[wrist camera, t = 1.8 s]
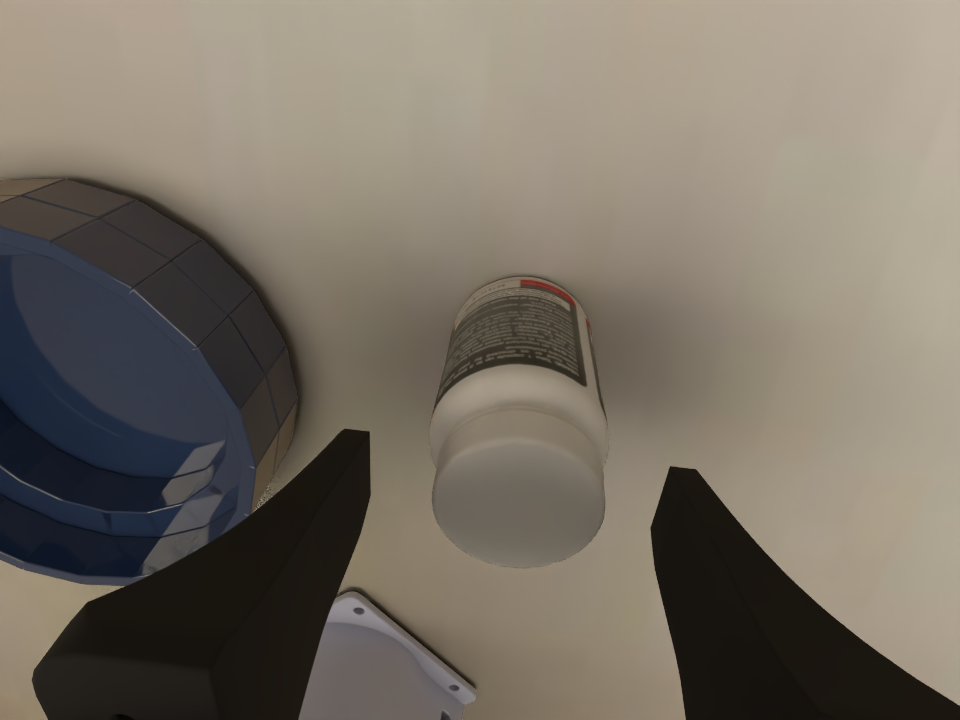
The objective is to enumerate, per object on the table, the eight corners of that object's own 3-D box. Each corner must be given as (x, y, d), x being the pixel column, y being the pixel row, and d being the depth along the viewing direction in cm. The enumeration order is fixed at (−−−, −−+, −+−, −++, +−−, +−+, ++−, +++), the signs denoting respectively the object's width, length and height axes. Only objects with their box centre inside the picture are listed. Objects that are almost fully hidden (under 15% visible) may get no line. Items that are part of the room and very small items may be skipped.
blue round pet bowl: (377, 400, 23) (344, 480, 19) (158, 545, 28) (98, 632, 24) (56, 78, 18) (-77, 98, 14) (-139, 326, 23) (-275, 391, 19)
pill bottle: (425, 322, 21) (368, 488, 14) (537, 245, 19) (539, 388, 12) (507, 414, 23) (494, 604, 16) (617, 351, 21) (659, 531, 14)
